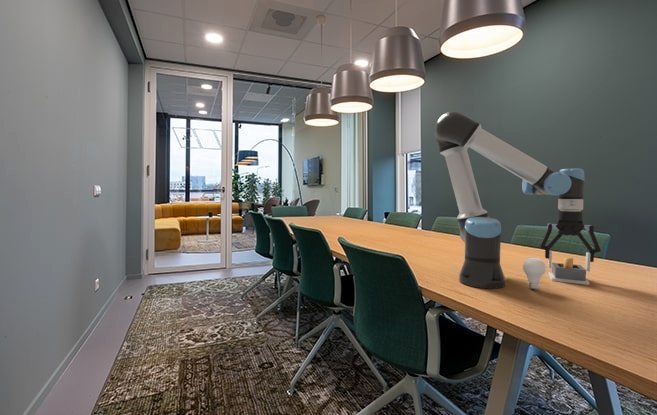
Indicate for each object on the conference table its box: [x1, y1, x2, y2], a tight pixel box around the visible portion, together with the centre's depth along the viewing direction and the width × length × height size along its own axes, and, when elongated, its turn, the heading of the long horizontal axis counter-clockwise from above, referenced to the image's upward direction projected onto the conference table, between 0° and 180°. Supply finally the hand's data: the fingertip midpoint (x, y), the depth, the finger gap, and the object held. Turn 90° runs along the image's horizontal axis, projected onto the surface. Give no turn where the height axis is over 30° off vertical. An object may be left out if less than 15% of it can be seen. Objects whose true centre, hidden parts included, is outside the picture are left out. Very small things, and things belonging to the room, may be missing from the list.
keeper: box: [548, 257, 590, 285], centre depth 122 cm, size 11×10×8 cm
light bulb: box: [522, 257, 547, 291], centre depth 109 cm, size 7×7×11 cm
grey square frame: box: [551, 262, 587, 281], centre depth 122 cm, size 9×9×4 cm
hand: (568, 268), depth 122 cm, fingers open, 11 cm apart
